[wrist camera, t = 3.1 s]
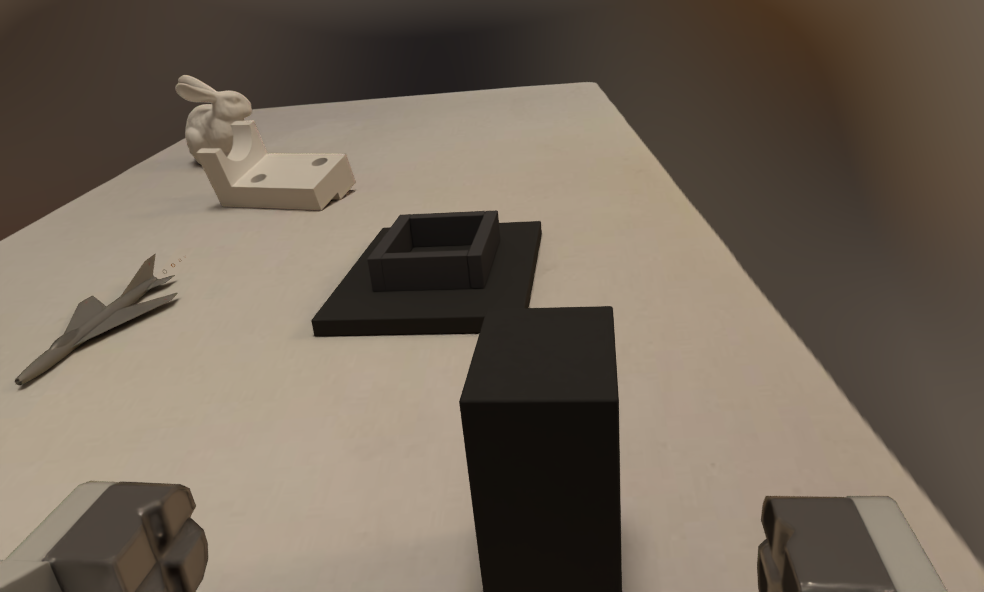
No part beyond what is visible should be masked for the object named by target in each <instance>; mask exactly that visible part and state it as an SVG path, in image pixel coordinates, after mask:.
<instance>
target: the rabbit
mask: <svg viewBox="0 0 984 592" xmlns="http://www.w3.org/2000/svg"><path fill="white" fill-rule="evenodd" d="M178 82H179V84H177V85H176V92H177V93H178V94H179V95H180V96H181V97H182V98H184V99H186V100H189V101H192V102H209V103H212V104H204V105H200V106H198V107H196V108H195V109H194V110H192V112H191V113H190V114H189V116H188V120H187V123H186V133H185V136H186V141H187V145H188V147H189V150H190V153H191V154H192V155H193V157H194V158H195V159H196V161H197V162H198V163H199V164H201V162H200V160H199V158H198V156H197V154H196V152H198V151H199V150H200V149H201V148H221V150H222V151H223V153H224V154H225V155H226V157H227V156H228V155H229V154H230V152H231V150H232V146H233V132H232V128H231V126H230V125H231V124H232V123H234V122H235V121H244V118H246V117H248V116H250V115H251V113H252V109H251V103H250V102H249V100H248V99H247V98H246V97H245V96H243V95H242V94H240V93H238V92H235V91H222V92H217V91H215V90H214V89H212V88H211V87H210V86H208V85H207V84H204V83H203V82H201V81H200V80H198V79H196V78H193V77H191V76H188V75H183V76H182V77H180V78H179V79H178ZM201 165H202V164H201Z"/></svg>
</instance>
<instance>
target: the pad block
mask: <svg viewBox="0 0 984 592" xmlns="http://www.w3.org/2000/svg"><path fill="white" fill-rule="evenodd" d="M459 403H460V411H461V419H462V427H463V435H464V443H465V451H466V458H467V466H468V474H469V482H470V490H471V498H472V506H473V514H474V522H475V530H476V537H477V545H478V553H479V561H480V569H481V577H482V585H483V592H622V570H621V509H620V449H619V398H618V382H617V366H616V350H615V334H614V318H613V308H612V307H611V306H601V307H560V308H520V309H488V310H487V311H486V314H485V317H484V320H483V324H482V327H481V331H480V334H479V337H478V341H477V344H476V347H475V351H474V354H473V357H472V361H471V364H470V368H469V371H468V374H467V378H466V381H465V384H464V388H463V391H462V394H461V398H460V401H459Z"/></svg>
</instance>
